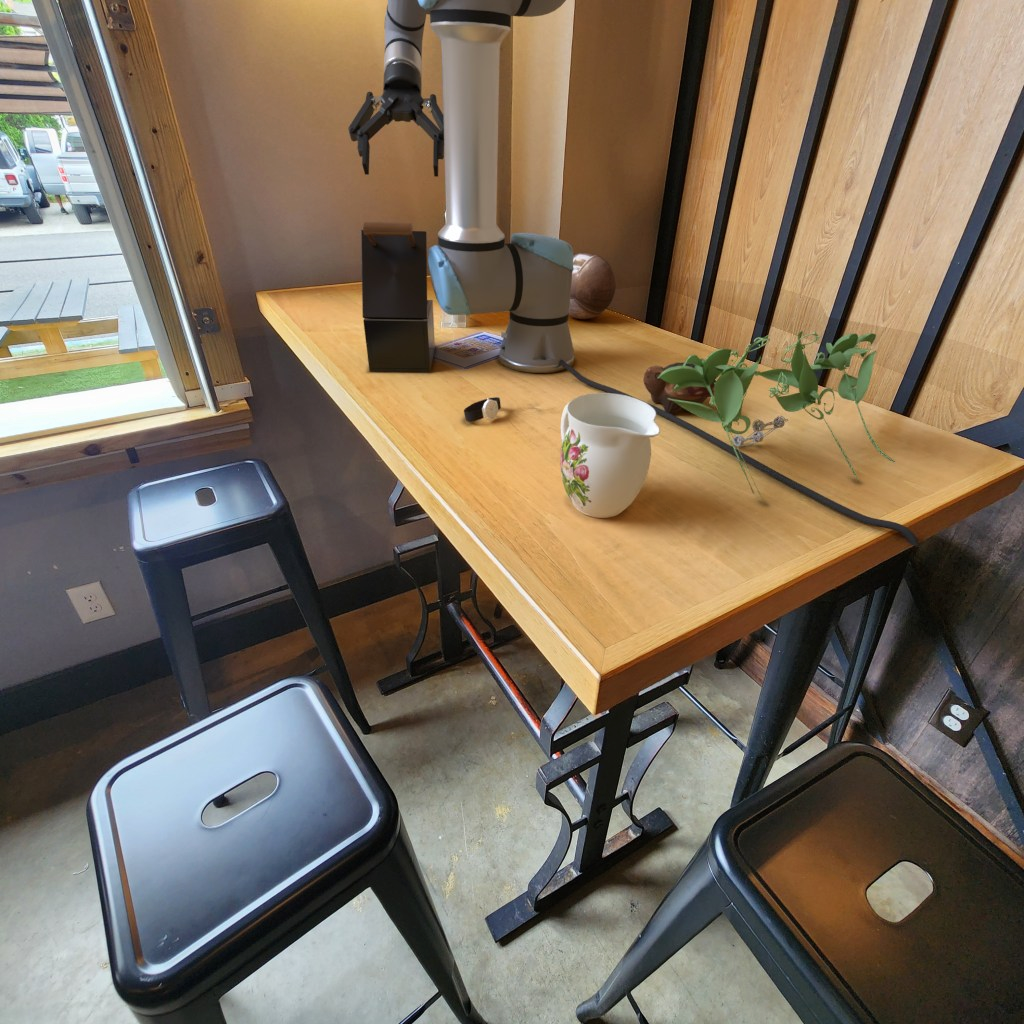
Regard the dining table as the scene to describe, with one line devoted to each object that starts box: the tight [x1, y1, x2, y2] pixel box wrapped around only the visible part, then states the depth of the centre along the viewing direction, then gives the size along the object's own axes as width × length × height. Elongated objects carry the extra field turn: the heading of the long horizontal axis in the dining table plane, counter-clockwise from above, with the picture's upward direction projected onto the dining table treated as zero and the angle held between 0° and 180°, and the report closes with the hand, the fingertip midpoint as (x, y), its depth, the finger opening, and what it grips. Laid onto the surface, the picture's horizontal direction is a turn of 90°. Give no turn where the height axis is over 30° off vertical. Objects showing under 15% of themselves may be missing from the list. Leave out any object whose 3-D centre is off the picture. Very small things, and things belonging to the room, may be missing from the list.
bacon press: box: [360, 221, 428, 319], centre depth 99 cm, size 15×12×8 cm
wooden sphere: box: [568, 252, 617, 320], centre depth 138 cm, size 15×15×15 cm
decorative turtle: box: [642, 361, 717, 415], centre depth 97 cm, size 10×15×8 cm, turn 111°
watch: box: [463, 396, 502, 422], centre depth 93 cm, size 8×5×4 cm, turn 143°
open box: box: [362, 299, 436, 373], centre depth 112 cm, size 15×12×10 cm
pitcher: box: [559, 392, 661, 519], centre depth 71 cm, size 11×18×14 cm, turn 27°
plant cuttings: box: [658, 330, 896, 501], centre depth 80 cm, size 35×17×22 cm
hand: (400, 170), depth 111 cm, fingers open, 13 cm apart
